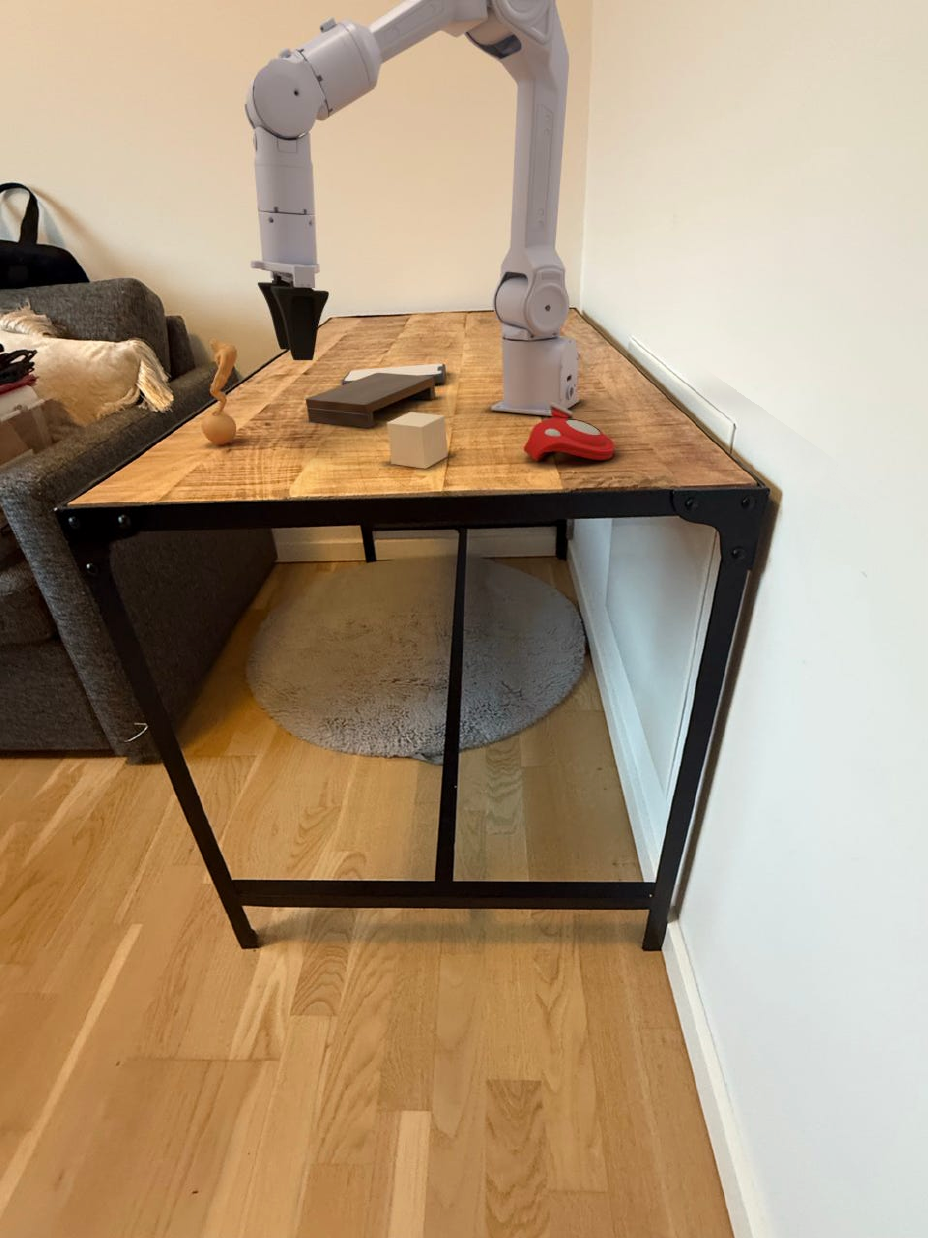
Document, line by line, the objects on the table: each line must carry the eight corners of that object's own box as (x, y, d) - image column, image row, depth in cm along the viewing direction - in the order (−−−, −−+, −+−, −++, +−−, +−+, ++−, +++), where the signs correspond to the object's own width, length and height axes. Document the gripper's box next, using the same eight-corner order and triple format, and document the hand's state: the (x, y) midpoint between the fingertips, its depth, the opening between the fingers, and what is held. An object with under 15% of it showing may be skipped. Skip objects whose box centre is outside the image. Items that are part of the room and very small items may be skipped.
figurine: (213, 435, 86) (187, 335, 80) (260, 431, 87) (239, 331, 80) (199, 455, 79) (171, 347, 73) (251, 450, 80) (227, 343, 73)
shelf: (435, 397, 97) (434, 376, 95) (368, 428, 85) (365, 404, 83) (379, 393, 101) (377, 372, 99) (309, 421, 90) (305, 398, 88)
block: (447, 456, 74) (445, 415, 72) (425, 469, 71) (422, 426, 68) (414, 451, 76) (410, 411, 74) (391, 464, 73) (386, 422, 70)
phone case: (341, 392, 104) (444, 384, 103) (340, 382, 103) (443, 373, 102) (350, 380, 111) (446, 372, 110) (348, 369, 110) (445, 362, 110)
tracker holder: (637, 443, 70) (568, 440, 65) (620, 481, 73) (552, 481, 67) (568, 395, 78) (500, 389, 72) (554, 431, 80) (488, 428, 75)
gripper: (237, 212, 73) (250, 344, 80) (257, 210, 62) (270, 365, 69) (302, 216, 76) (309, 344, 83) (333, 215, 65) (338, 364, 71)
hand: (295, 354), depth 76 cm, fingers open, 7 cm apart
